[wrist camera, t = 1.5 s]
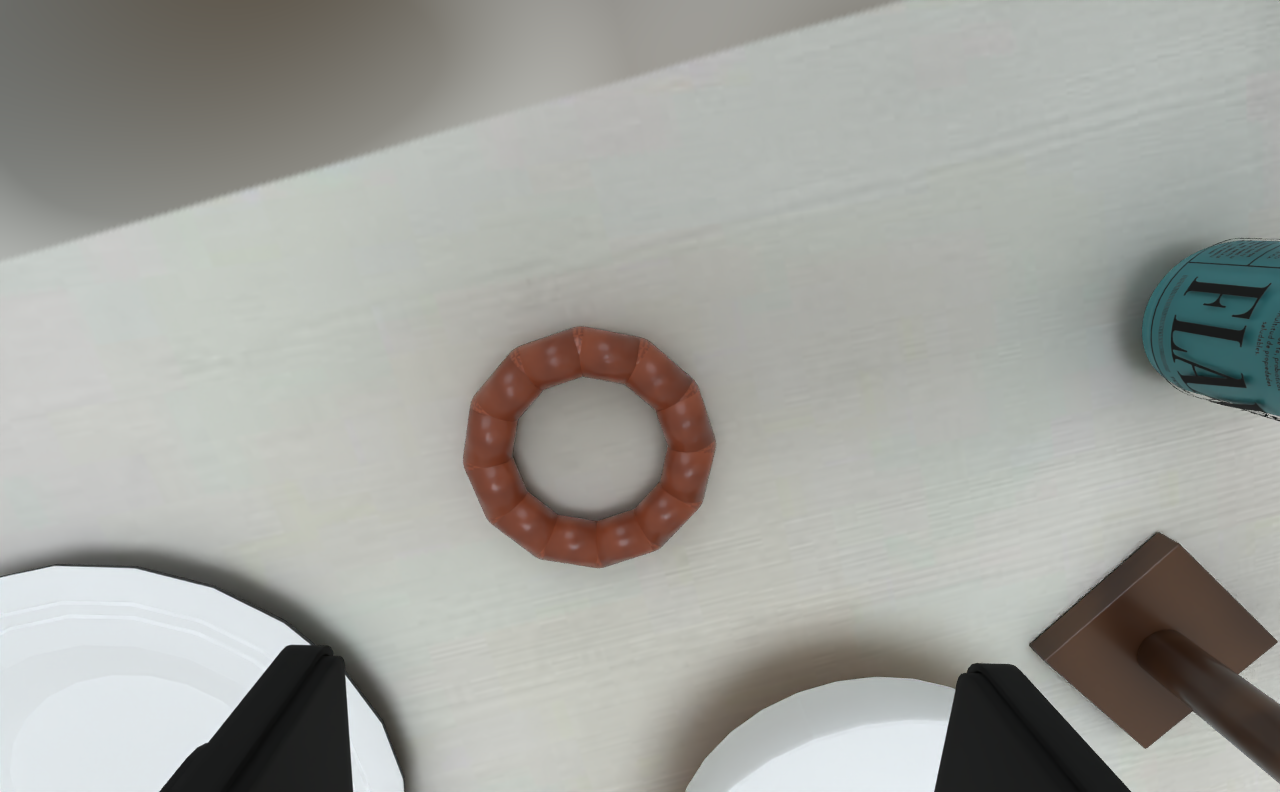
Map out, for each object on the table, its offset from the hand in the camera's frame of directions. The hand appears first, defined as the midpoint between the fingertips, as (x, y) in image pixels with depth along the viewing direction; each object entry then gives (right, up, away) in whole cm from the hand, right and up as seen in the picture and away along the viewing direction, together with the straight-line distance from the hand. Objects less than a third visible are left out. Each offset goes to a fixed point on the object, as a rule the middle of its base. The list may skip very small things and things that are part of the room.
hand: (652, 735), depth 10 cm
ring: (-2, +3, +17) cm, 18 cm away
